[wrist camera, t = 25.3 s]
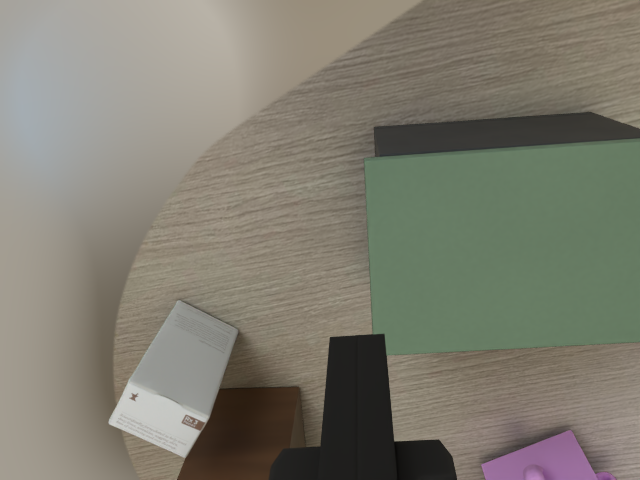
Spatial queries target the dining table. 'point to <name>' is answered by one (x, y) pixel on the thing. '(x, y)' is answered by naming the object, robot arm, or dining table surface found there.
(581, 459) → the teapot
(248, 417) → the stand
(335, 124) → the dining table surface
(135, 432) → the cosmetic box
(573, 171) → the bin lid
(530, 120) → the bin
